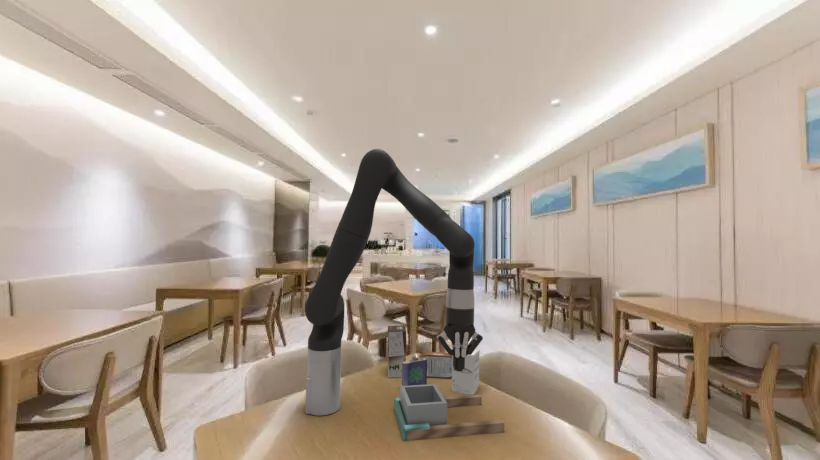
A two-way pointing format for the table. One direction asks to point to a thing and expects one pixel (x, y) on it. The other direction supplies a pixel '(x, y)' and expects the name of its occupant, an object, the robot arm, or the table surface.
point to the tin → (438, 364)
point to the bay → (448, 429)
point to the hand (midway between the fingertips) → (458, 370)
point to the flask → (414, 371)
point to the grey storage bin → (423, 405)
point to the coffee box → (396, 350)
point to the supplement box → (467, 375)
